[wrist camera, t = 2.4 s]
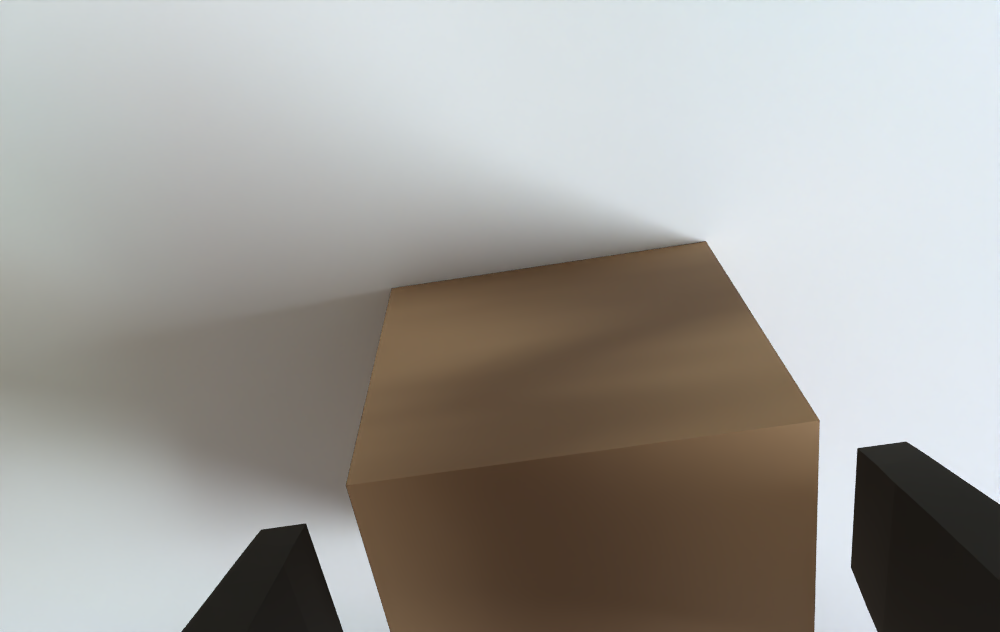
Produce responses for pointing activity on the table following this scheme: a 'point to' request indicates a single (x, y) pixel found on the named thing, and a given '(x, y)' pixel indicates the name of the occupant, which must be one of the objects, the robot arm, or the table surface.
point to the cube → (586, 455)
